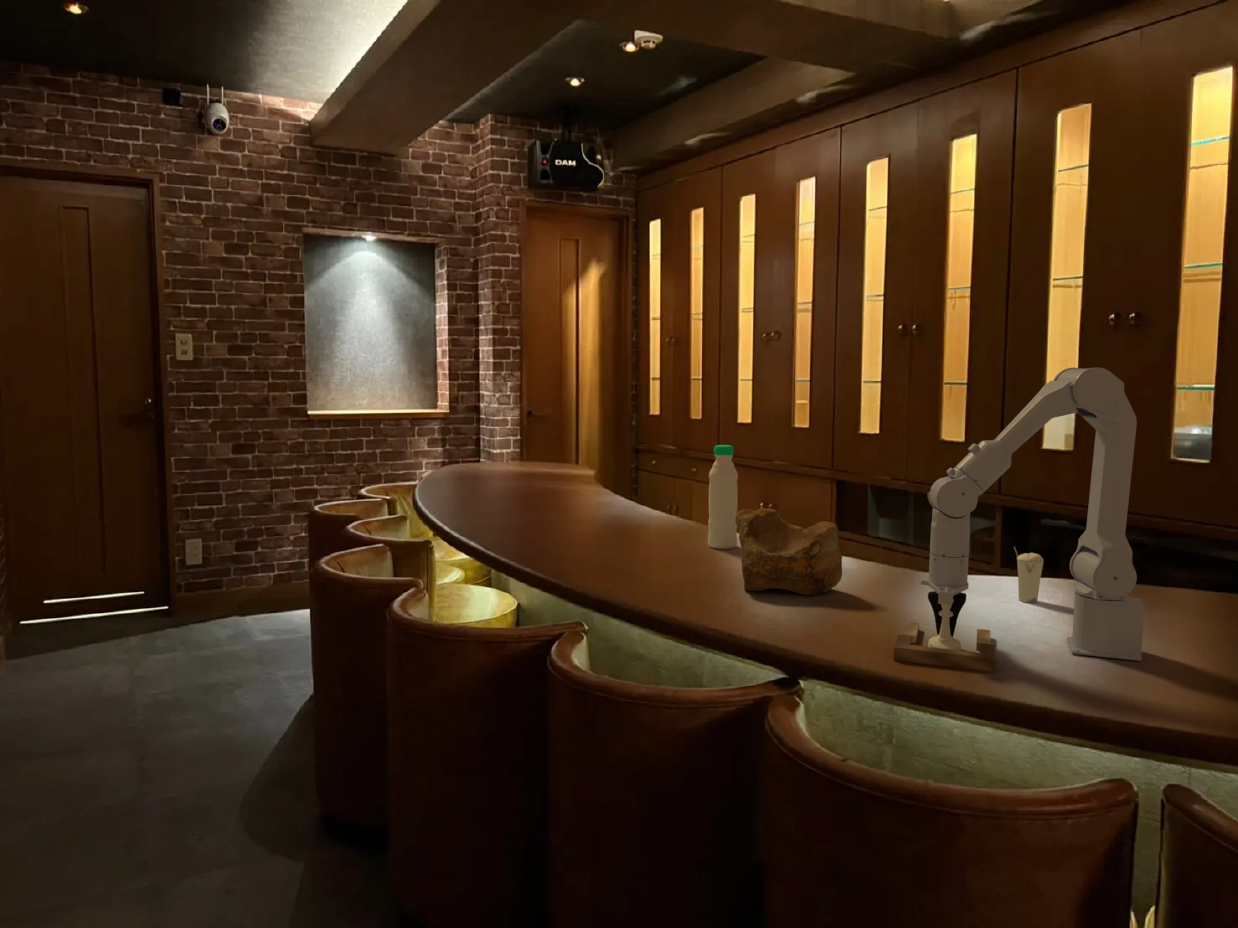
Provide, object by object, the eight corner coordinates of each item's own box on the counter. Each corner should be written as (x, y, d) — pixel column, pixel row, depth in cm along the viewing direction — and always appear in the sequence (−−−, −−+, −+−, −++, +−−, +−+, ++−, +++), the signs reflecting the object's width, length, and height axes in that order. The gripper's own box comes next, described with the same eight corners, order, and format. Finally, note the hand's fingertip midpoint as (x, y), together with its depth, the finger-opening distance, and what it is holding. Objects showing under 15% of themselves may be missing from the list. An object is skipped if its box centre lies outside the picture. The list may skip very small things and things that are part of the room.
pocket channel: (989, 637, 146) (990, 630, 146) (990, 651, 139) (990, 643, 139) (906, 628, 151) (906, 621, 151) (902, 641, 144) (902, 634, 144)
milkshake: (1016, 595, 173) (1018, 544, 172) (1045, 600, 169) (1047, 548, 168) (1006, 599, 170) (1009, 548, 169) (1035, 605, 166) (1038, 552, 165)
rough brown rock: (702, 590, 180) (702, 518, 177) (747, 569, 193) (747, 502, 190) (805, 615, 165) (806, 536, 162) (847, 590, 178) (849, 517, 175)
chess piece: (934, 637, 143) (936, 578, 141) (965, 644, 140) (968, 585, 138) (923, 649, 140) (925, 589, 137) (955, 656, 137) (958, 596, 134)
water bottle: (741, 545, 222) (743, 445, 219) (729, 550, 216) (730, 447, 213) (715, 542, 225) (717, 443, 223) (702, 547, 219) (704, 445, 217)
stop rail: (993, 657, 136) (994, 644, 136) (994, 672, 130) (995, 658, 129) (897, 646, 141) (898, 634, 141) (893, 660, 135) (894, 647, 135)
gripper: (925, 543, 149) (921, 623, 150) (919, 560, 135) (915, 648, 137) (970, 547, 146) (966, 628, 147) (969, 565, 133) (964, 654, 134)
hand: (945, 638), depth 142 cm, fingers closed, pressing on chess piece
